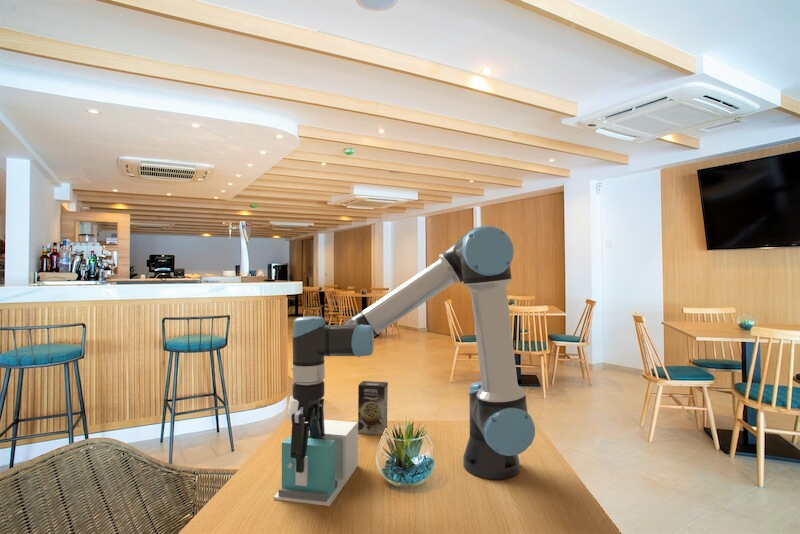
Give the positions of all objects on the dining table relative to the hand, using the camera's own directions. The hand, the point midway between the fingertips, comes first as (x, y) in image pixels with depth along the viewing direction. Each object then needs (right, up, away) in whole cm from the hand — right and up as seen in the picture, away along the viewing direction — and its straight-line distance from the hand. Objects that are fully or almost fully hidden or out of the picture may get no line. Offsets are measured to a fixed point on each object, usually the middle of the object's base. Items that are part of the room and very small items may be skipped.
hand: (308, 476), depth 103 cm
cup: (-7, -5, +29) cm, 31 cm away
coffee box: (+13, -5, +42) cm, 44 cm away
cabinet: (+1, -4, +7) cm, 8 cm away
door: (0, -4, 0) cm, 4 cm away
